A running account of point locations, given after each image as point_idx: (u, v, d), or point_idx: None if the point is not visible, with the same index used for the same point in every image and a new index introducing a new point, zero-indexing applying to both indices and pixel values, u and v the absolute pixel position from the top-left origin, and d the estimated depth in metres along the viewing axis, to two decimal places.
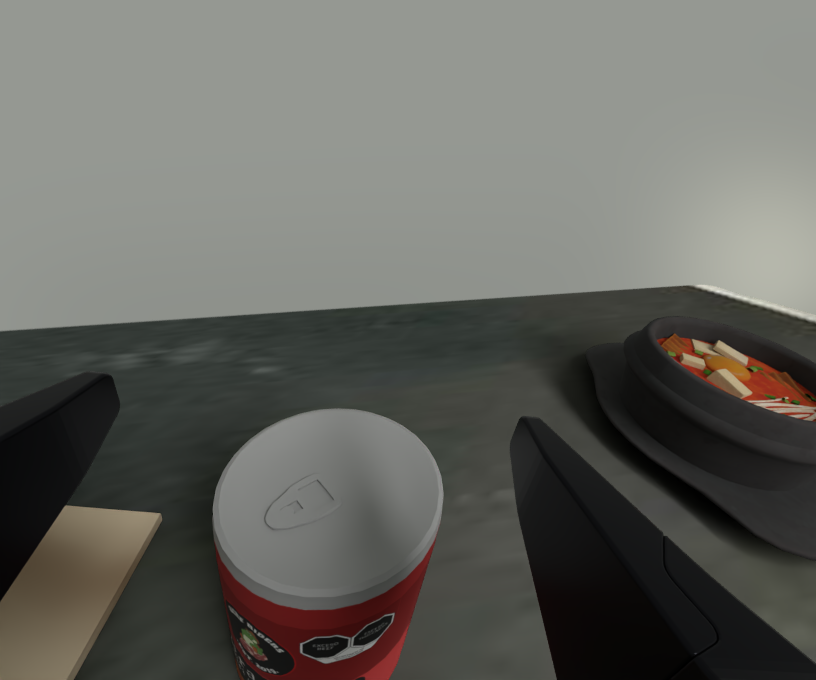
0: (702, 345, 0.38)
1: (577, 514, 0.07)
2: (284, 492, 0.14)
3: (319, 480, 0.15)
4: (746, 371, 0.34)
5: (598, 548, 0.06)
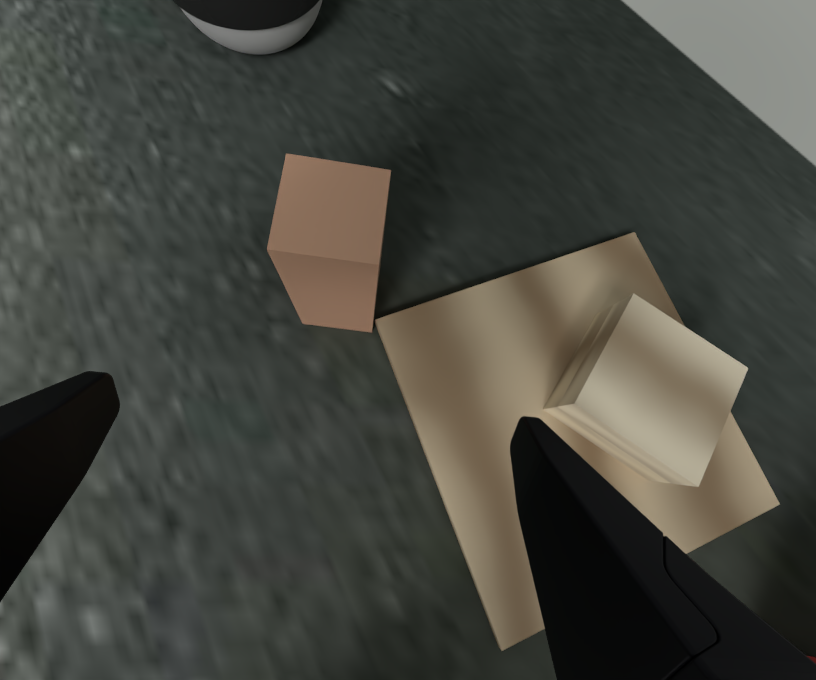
0: None
1: (577, 514, 0.07)
2: None
3: None
4: None
5: (598, 548, 0.06)
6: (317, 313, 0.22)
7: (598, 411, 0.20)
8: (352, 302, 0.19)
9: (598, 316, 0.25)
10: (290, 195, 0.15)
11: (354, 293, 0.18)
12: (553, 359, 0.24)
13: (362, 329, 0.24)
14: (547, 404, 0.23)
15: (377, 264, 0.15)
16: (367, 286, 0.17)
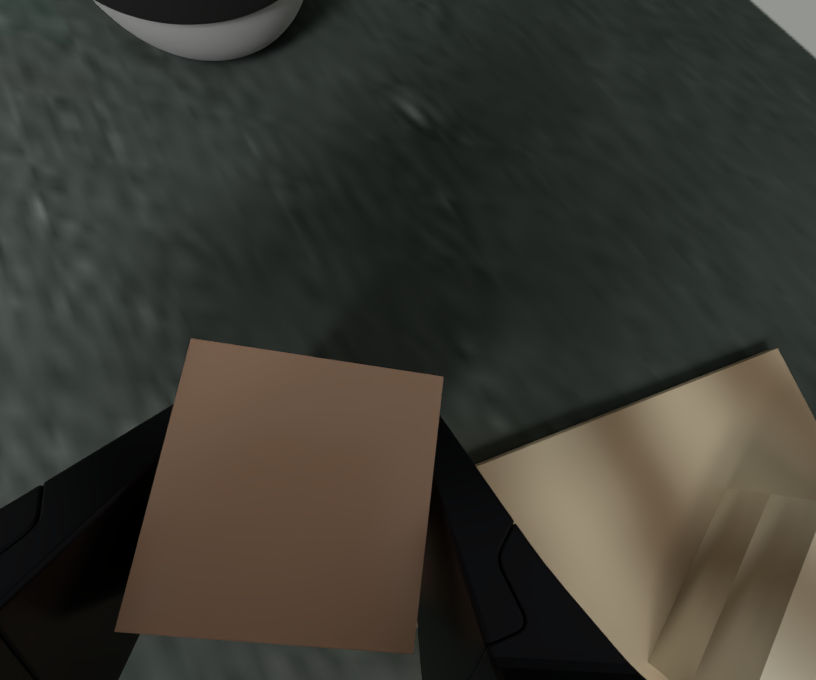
0: None
1: (435, 502, 0.07)
2: None
3: None
4: None
5: (443, 536, 0.06)
6: None
7: None
8: None
9: (734, 499, 0.15)
10: (193, 458, 0.06)
11: None
12: (662, 570, 0.15)
13: None
14: (656, 656, 0.14)
15: (409, 650, 0.06)
16: None
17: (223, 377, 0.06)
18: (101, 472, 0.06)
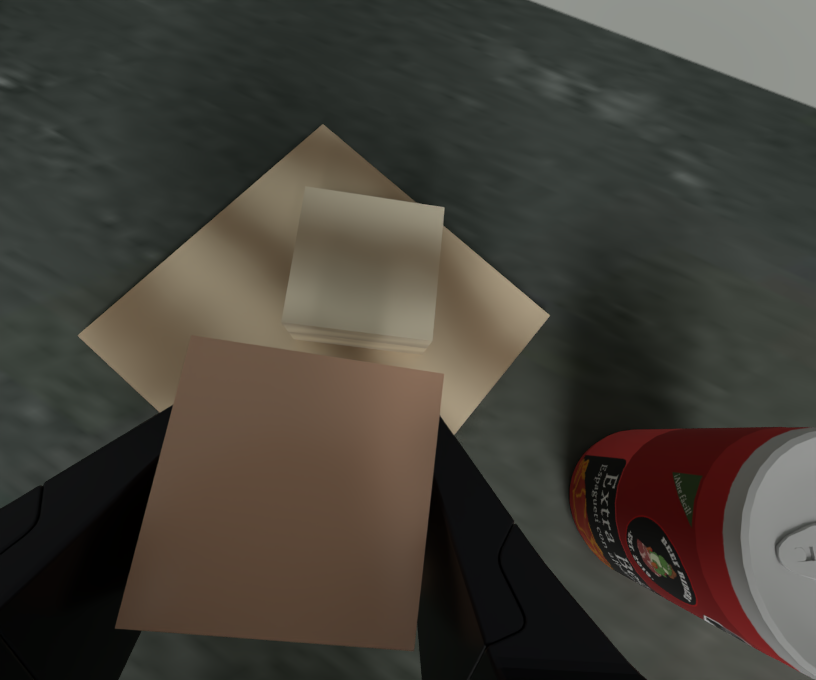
0: None
1: (435, 502, 0.07)
2: (801, 528, 0.13)
3: None
4: None
5: (443, 536, 0.06)
6: None
7: (308, 318, 0.19)
8: None
9: None
10: (193, 455, 0.06)
11: None
12: (286, 286, 0.23)
13: None
14: None
15: (409, 647, 0.06)
16: None
17: (223, 374, 0.06)
18: (101, 472, 0.06)
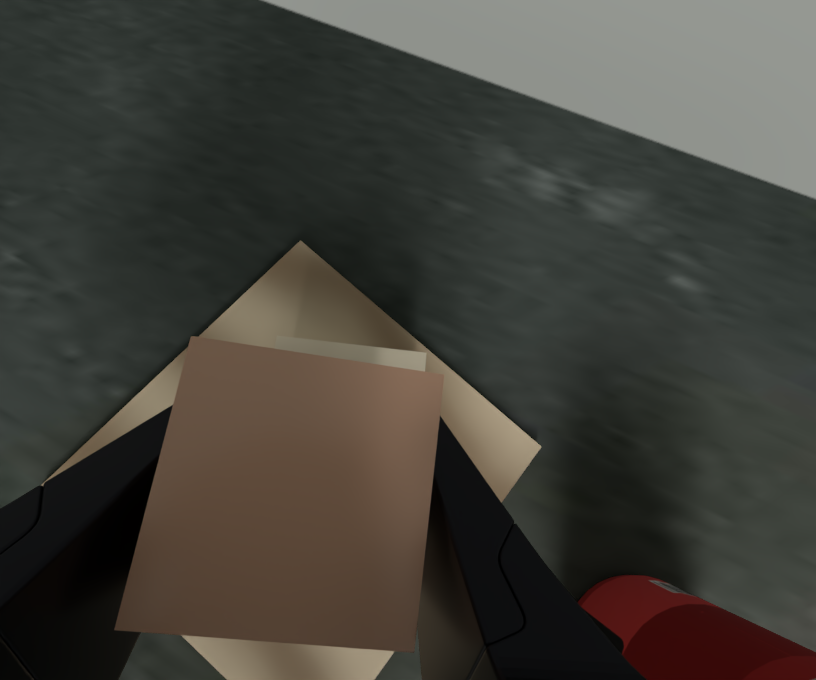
0: None
1: (435, 502, 0.07)
2: None
3: None
4: None
5: (443, 536, 0.06)
6: None
7: None
8: None
9: None
10: (193, 456, 0.06)
11: None
12: None
13: None
14: None
15: (409, 648, 0.06)
16: None
17: (223, 375, 0.06)
18: (101, 472, 0.06)
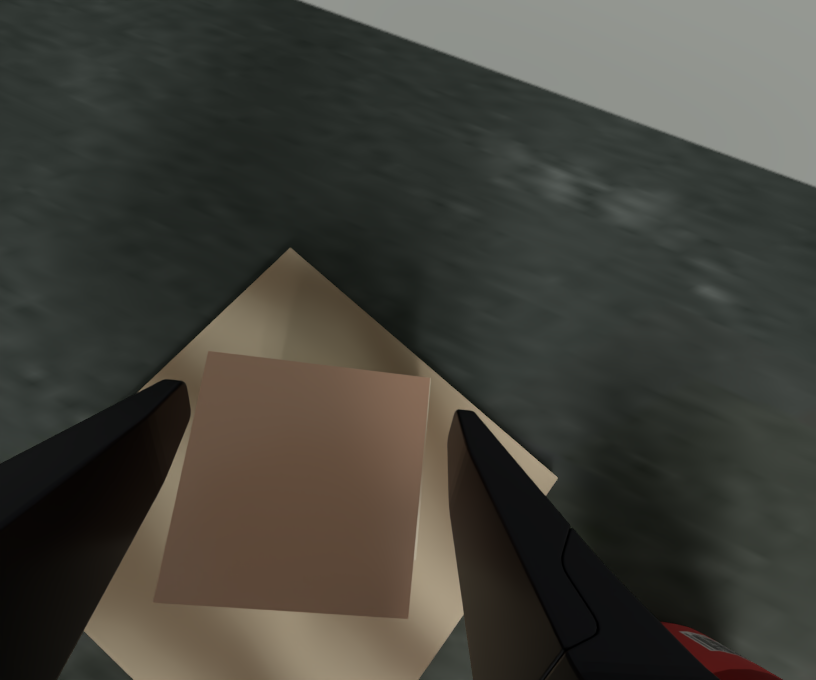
0: None
1: (489, 507, 0.07)
2: None
3: None
4: None
5: (502, 541, 0.06)
6: None
7: None
8: None
9: None
10: (213, 454, 0.07)
11: None
12: None
13: None
14: None
15: (404, 615, 0.07)
16: None
17: (237, 384, 0.07)
18: (36, 466, 0.06)
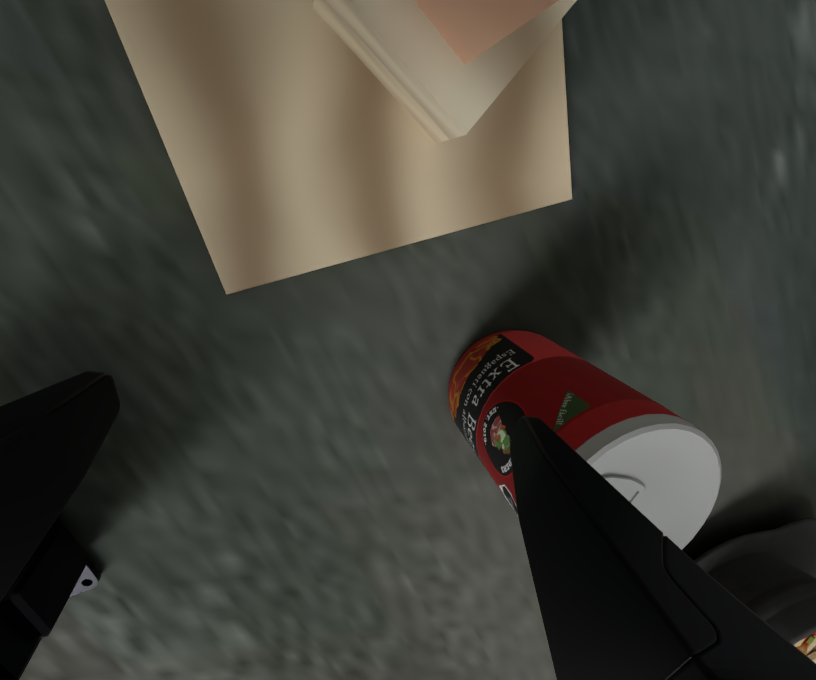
0: None
1: (577, 514, 0.07)
2: (623, 477, 0.15)
3: (638, 494, 0.16)
4: None
5: (598, 548, 0.06)
6: None
7: None
8: None
9: None
10: None
11: None
12: None
13: (458, 48, 0.14)
14: None
15: None
16: None
17: None
18: None
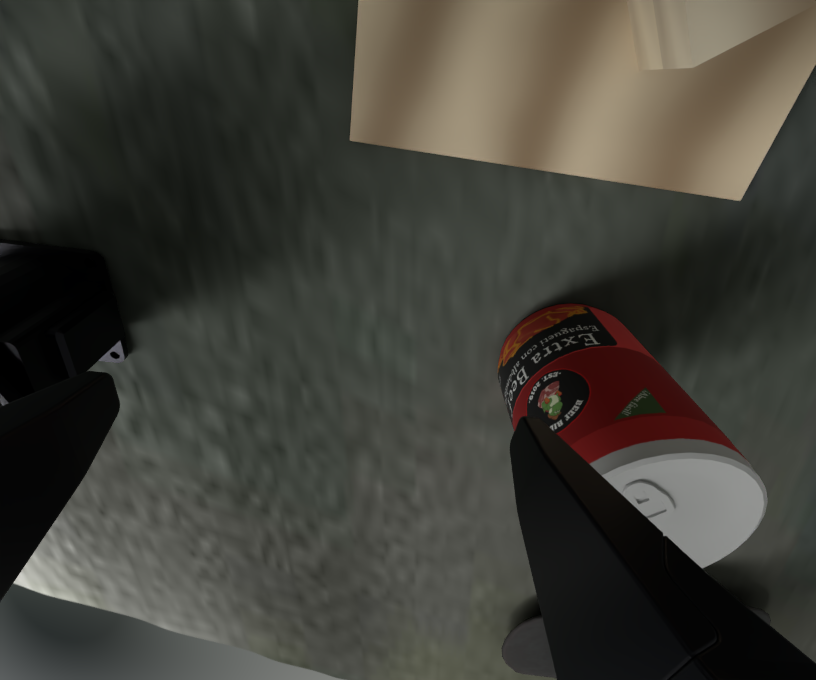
0: None
1: (577, 514, 0.07)
2: (662, 490, 0.15)
3: (664, 512, 0.15)
4: None
5: (598, 548, 0.06)
6: None
7: None
8: None
9: None
10: None
11: None
12: None
13: None
14: None
15: None
16: None
17: None
18: None
